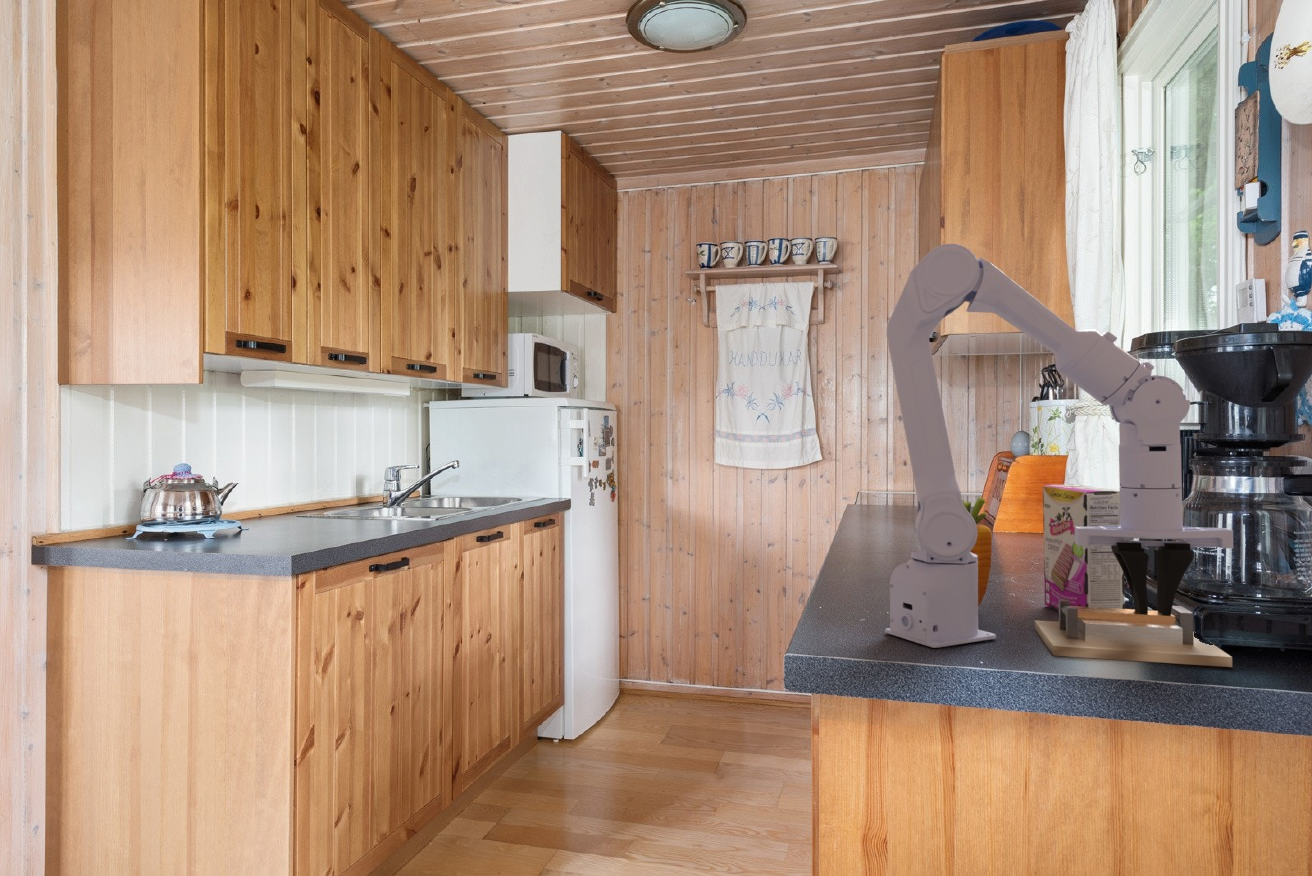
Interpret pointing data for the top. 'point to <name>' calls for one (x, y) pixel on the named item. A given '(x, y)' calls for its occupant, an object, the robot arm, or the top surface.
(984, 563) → the carrot
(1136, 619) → the copper strap
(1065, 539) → the candy bar box
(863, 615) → the top surface
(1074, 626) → the stone
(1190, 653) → the birch board
